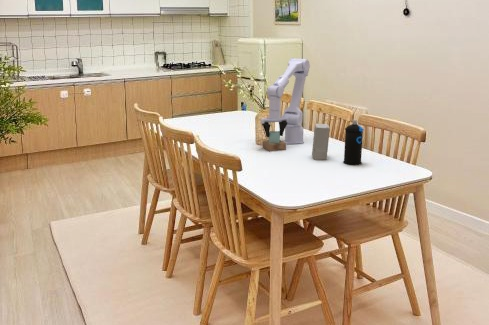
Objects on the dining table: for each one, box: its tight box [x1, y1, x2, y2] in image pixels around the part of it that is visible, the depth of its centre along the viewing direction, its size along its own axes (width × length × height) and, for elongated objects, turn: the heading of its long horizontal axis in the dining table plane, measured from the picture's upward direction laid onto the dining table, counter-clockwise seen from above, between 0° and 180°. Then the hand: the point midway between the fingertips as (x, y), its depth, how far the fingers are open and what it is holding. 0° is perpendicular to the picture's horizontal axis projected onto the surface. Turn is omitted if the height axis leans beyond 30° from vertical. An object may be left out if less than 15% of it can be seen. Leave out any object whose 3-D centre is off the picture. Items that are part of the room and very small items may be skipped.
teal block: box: [268, 130, 281, 143], centre depth 265 cm, size 5×5×5 cm
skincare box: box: [311, 123, 331, 161], centre depth 247 cm, size 8×7×16 cm
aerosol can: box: [342, 119, 364, 166], centre depth 238 cm, size 8×8×20 cm
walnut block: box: [262, 139, 287, 153], centre depth 266 cm, size 9×9×4 cm
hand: (274, 136), depth 265 cm, fingers open, 7 cm apart
